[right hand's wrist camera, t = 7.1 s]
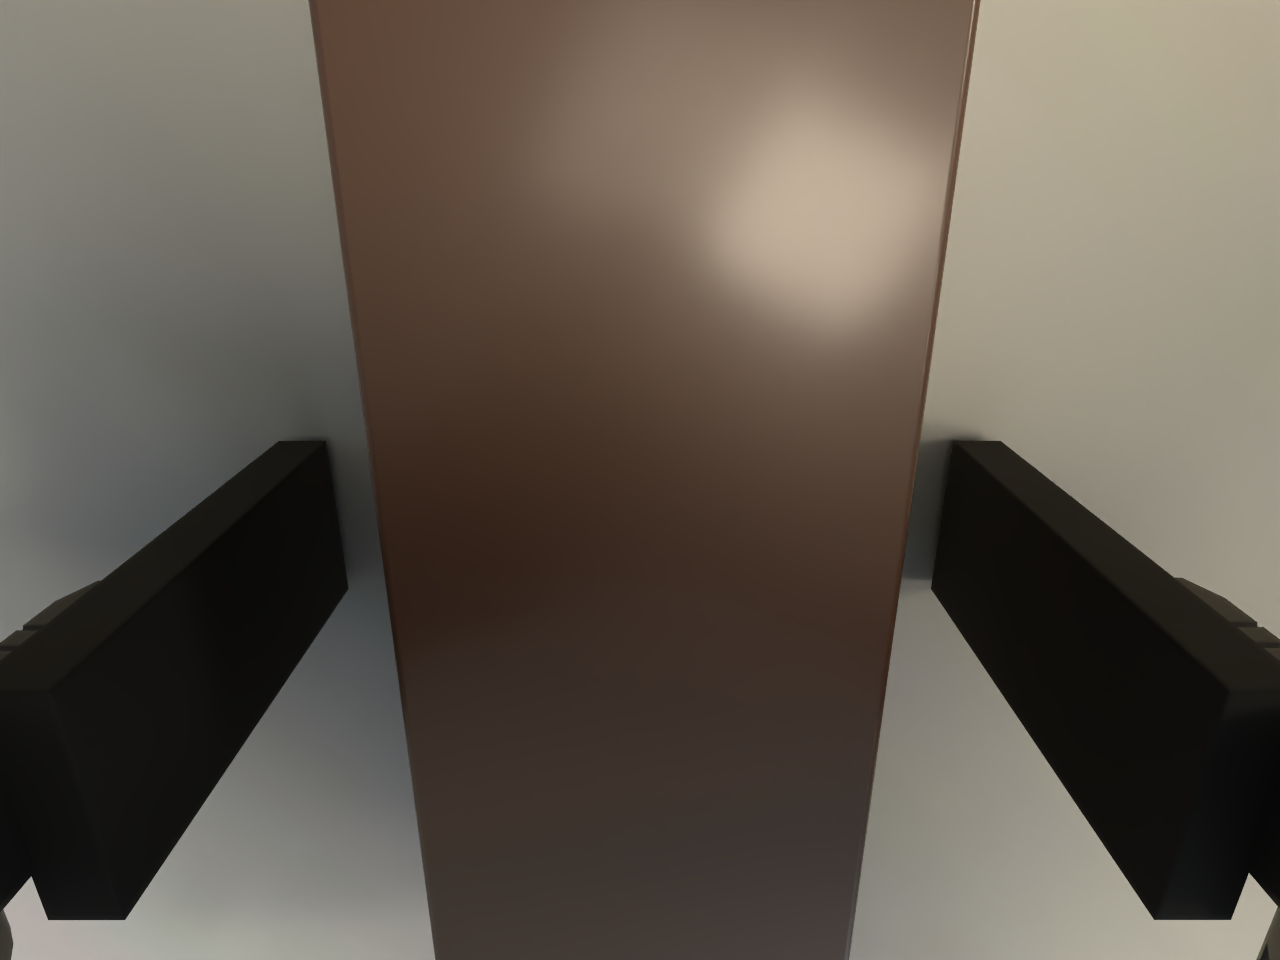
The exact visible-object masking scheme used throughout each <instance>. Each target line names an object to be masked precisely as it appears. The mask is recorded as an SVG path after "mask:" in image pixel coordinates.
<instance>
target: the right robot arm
mask: <svg viewBox="0 0 1280 960" xmlns="http://www.w3.org/2000/svg"><path fill="white" fill-rule="evenodd" d="M931 589H932V591H933V592H934V594H935V595H936V597H937V598H938V600H939V601H940V603H941V604H942V606H943V607H944V609H945V610H946V612H947V613H948V615H949V616H950V618H951V619H952V621H953V622H954V623H955V625H956V626H957V628H958V629H959V631H960V632H961V634H962V635H963V637H964V638H965V640H966V641H967V643H968V644H969V646H970V647H971V649H972V650H973V652H974V653H975V655H976V656H977V658H978V659H979V661H980V662H981V664H982V665H983V667H984V668H985V669H986V671H987V672H988V674H989V675H990V677H991V678H992V680H993V681H994V683H995V684H996V686H997V687H998V689H999V690H1000V692H1001V693H1002V695H1003V696H1004V698H1005V699H1006V701H1007V702H1008V704H1009V705H1010V707H1011V708H1012V710H1013V711H1014V712H1015V714H1016V715H1017V717H1018V718H1019V720H1020V721H1021V723H1022V724H1023V726H1024V727H1025V729H1026V730H1027V732H1028V733H1029V735H1030V736H1031V738H1032V739H1033V741H1034V742H1035V744H1036V745H1037V747H1038V748H1039V750H1040V751H1041V753H1042V754H1043V755H1044V757H1045V758H1046V760H1047V761H1048V763H1049V764H1050V766H1051V767H1052V769H1053V770H1054V772H1055V773H1056V775H1057V776H1058V778H1059V779H1060V781H1061V782H1062V784H1063V785H1064V787H1065V788H1066V790H1067V791H1068V793H1069V794H1070V796H1071V797H1072V798H1073V800H1074V801H1075V803H1076V804H1077V806H1078V807H1079V809H1080V810H1081V812H1082V813H1083V815H1084V816H1085V818H1086V819H1087V821H1088V822H1089V824H1090V825H1091V827H1092V828H1093V830H1094V831H1095V833H1096V834H1097V836H1098V837H1099V839H1100V840H1101V841H1102V843H1103V844H1104V846H1105V847H1106V849H1107V850H1108V852H1109V853H1110V855H1111V856H1112V858H1113V859H1114V861H1115V862H1116V864H1117V865H1118V867H1119V868H1120V870H1121V871H1122V873H1123V874H1124V876H1125V877H1126V879H1127V880H1128V882H1129V883H1130V884H1131V886H1132V887H1133V889H1134V890H1135V892H1136V893H1137V895H1138V896H1139V898H1140V899H1141V901H1142V902H1143V904H1144V905H1145V907H1146V908H1147V910H1148V911H1149V913H1150V914H1151V916H1152V917H1153V919H1154V920H1231V918H1232V916H1233V913H1234V910H1235V908H1236V905H1237V902H1238V900H1239V897H1240V895H1241V892H1242V889H1243V887H1244V884H1245V881H1246V879H1247V876H1248V873H1250V874H1251V875H1252V876H1253V878H1254V879H1255V880H1256V881H1257V882H1258V884H1259V885H1260V886H1261V887H1262V888H1263V889H1264V891H1265V892H1266V893H1267V894H1268V895H1269V896H1270V898H1271V899H1272V900H1273V901H1274V902H1275V903H1276V905H1277V906H1278V908H1277V910H1276V913H1275V915H1274V918H1273V920H1272V923H1271V925H1270V928H1269V930H1268V933H1267V935H1266V937H1265V940H1264V942H1263V945H1262V947H1261V950H1260V952H1259V955H1258V957H1257V960H1280V639H1278V638H1277V637H1276V636H1274V635H1273V634H1272V633H1270V632H1269V631H1268V630H1266V629H1265V628H1264V627H1258V626H1257V622H1256V621H1255V620H1253V619H1252V618H1251V617H1249V616H1248V615H1247V614H1245V613H1244V612H1243V611H1241V610H1240V609H1239V608H1237V607H1236V606H1235V605H1233V604H1232V603H1231V602H1229V601H1228V600H1227V599H1225V598H1223V597H1221V596H1219V595H1217V594H1215V593H1213V592H1211V591H1209V590H1206V589H1204V588H1202V587H1200V586H1198V585H1196V584H1194V583H1192V582H1190V581H1187V580H1185V579H1183V578H1174V577H1173V576H1171V575H1170V574H1169V573H1167V572H1166V571H1165V570H1164V569H1162V568H1161V567H1160V566H1159V565H1157V564H1156V563H1155V562H1154V561H1152V560H1151V559H1150V558H1148V557H1147V556H1146V555H1145V554H1143V553H1142V552H1141V551H1140V550H1138V549H1137V548H1136V547H1134V546H1133V545H1132V544H1131V543H1129V542H1128V541H1127V540H1126V539H1124V538H1123V537H1122V536H1120V535H1119V534H1118V533H1117V532H1115V531H1114V530H1113V529H1112V528H1110V527H1109V526H1108V525H1106V524H1105V523H1104V522H1103V521H1101V520H1100V519H1099V518H1098V517H1096V516H1095V515H1094V514H1093V513H1091V512H1090V511H1089V510H1087V509H1086V508H1085V507H1084V506H1082V505H1081V504H1080V503H1079V502H1077V501H1076V500H1075V499H1073V498H1072V497H1071V496H1070V495H1068V494H1067V493H1066V492H1065V491H1063V490H1062V489H1061V488H1059V487H1058V486H1057V485H1056V484H1054V483H1053V482H1052V481H1051V480H1049V479H1048V478H1047V477H1045V476H1044V475H1043V474H1042V473H1040V472H1039V471H1038V470H1037V469H1035V468H1034V467H1033V466H1032V465H1030V464H1029V463H1028V462H1026V461H1025V460H1024V459H1023V458H1021V457H1020V456H1019V455H1018V454H1016V453H1015V452H1014V451H1012V450H1011V449H1010V448H1009V447H1007V446H1006V445H1005V444H1004V443H1002V442H1001V441H954V443H953V449H952V456H951V462H950V469H949V475H948V482H947V488H946V494H945V501H944V507H943V514H942V520H941V527H940V533H939V540H938V546H937V553H936V559H935V566H934V572H933V579H932V585H931ZM347 590H348V582H347V576H346V570H345V563H344V557H343V550H342V544H341V537H340V531H339V524H338V518H337V511H336V505H335V498H334V492H333V485H332V479H331V472H330V466H329V460H328V453H327V447H326V441H278V442H277V443H276V444H275V445H273V446H272V447H271V448H270V449H268V450H267V451H266V452H264V453H263V454H262V455H261V456H259V457H258V458H257V459H256V460H254V461H253V462H252V463H250V464H249V465H248V466H247V467H245V468H244V469H243V470H242V471H240V472H239V473H238V474H236V475H235V476H234V477H233V478H231V479H230V480H229V481H228V482H226V483H225V484H224V485H222V486H221V487H220V488H219V489H217V490H216V491H215V492H214V493H212V494H211V495H210V496H208V497H207V498H206V499H205V500H203V501H202V502H201V503H200V504H198V505H197V506H196V507H194V508H193V509H192V510H191V511H189V512H188V513H187V514H186V515H184V516H183V517H182V518H181V519H179V520H178V521H177V522H175V523H174V524H173V525H172V526H170V527H169V528H168V529H167V530H165V531H164V532H163V533H161V534H160V535H159V536H158V537H156V538H155V539H154V540H153V541H151V542H150V543H149V544H147V545H146V546H145V547H144V548H142V549H141V550H140V551H139V552H137V553H136V554H135V555H133V556H132V557H131V558H130V559H128V560H127V561H126V562H125V563H123V564H122V565H121V566H119V567H118V568H117V569H116V570H114V571H113V572H112V573H111V574H109V575H108V576H107V577H105V578H104V579H103V580H102V581H97V582H95V583H93V584H90V585H88V586H86V587H84V588H82V589H80V590H78V591H76V592H74V593H72V594H70V595H67V596H65V597H63V598H61V599H59V600H57V601H55V602H54V603H52V604H51V605H50V606H48V607H47V608H46V609H44V610H43V611H42V612H40V613H39V614H38V615H36V616H35V617H34V618H33V619H31V620H30V621H29V622H27V623H26V624H25V625H23V630H22V631H15V632H14V633H13V634H11V635H10V636H9V637H7V638H6V639H5V640H4V641H2V642H1V643H0V960H11V956H12V949H13V939H12V934H11V928H10V925H9V923H8V920H7V918H6V915H5V913H4V910H3V909H4V907H5V906H6V905H7V904H8V903H9V902H10V900H11V899H12V898H13V897H14V896H15V894H16V893H17V892H18V891H19V890H20V889H21V887H22V886H23V885H24V884H25V883H26V881H27V880H28V879H29V878H30V877H31V876H32V878H33V881H34V884H35V886H36V889H37V892H38V894H39V897H40V899H41V902H42V905H43V907H44V910H45V913H46V915H47V918H48V920H125V919H126V918H127V916H128V915H129V913H130V912H131V910H132V909H133V907H134V906H135V904H136V903H137V901H138V900H139V898H140V897H141V895H142V894H143V892H144V891H145V890H146V888H147V887H148V885H149V884H150V882H151V881H152V879H153V878H154V876H155V875H156V873H157V872H158V870H159V869H160V867H161V866H162V864H163V863H164V861H165V860H166V858H167V857H168V855H169V854H170V852H171V851H172V849H173V848H174V847H175V845H176V844H177V842H178V841H179V839H180V838H181V836H182V835H183V833H184V832H185V830H186V829H187V827H188V826H189V824H190V823H191V821H192V820H193V818H194V817H195V815H196V814H197V812H198V811H199V809H200V808H201V807H202V805H203V804H204V802H205V801H206V799H207V798H208V796H209V795H210V793H211V792H212V790H213V789H214V787H215V786H216V784H217V783H218V781H219V780H220V778H221V777H222V775H223V774H224V772H225V771H226V769H227V768H228V766H229V765H230V764H231V762H232V761H233V759H234V758H235V756H236V755H237V753H238V752H239V750H240V749H241V747H242V746H243V744H244V743H245V741H246V740H247V738H248V737H249V735H250V734H251V732H252V731H253V729H254V728H255V726H256V725H257V723H258V722H259V721H260V719H261V718H262V716H263V715H264V713H265V712H266V710H267V709H268V707H269V706H270V704H271V703H272V701H273V700H274V698H275V697H276V695H277V694H278V692H279V691H280V689H281V688H282V686H283V685H284V683H285V682H286V681H287V679H288V678H289V676H290V675H291V673H292V672H293V670H294V669H295V667H296V666H297V664H298V663H299V661H300V660H301V658H302V657H303V655H304V654H305V652H306V651H307V649H308V648H309V646H310V645H311V643H312V642H313V640H314V639H315V638H316V636H317V635H318V633H319V632H320V630H321V629H322V627H323V626H324V624H325V623H326V621H327V620H328V618H329V617H330V615H331V614H332V612H333V611H334V609H335V608H336V606H337V605H338V603H339V602H340V600H341V599H342V598H343V596H344V595H345V593H346V592H347Z"/></svg>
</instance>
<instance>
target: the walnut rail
mask: <svg viewBox="0 0 1280 960" xmlns="http://www.w3.org/2000/svg"><path fill="white" fill-rule="evenodd" d="M309 7H310V15H311V22H312V30H313V37H314V45H315V52H316V60H317V67H318V75H319V83H320V90H321V98H322V105H323V113H324V120H325V128H326V136H327V143H328V151H329V158H330V166H331V173H332V181H333V189H334V196H335V204H336V211H337V219H338V226H339V234H340V241H341V249H342V257H343V264H344V272H345V279H346V287H347V294H348V302H349V310H350V317H351V325H352V332H353V340H354V347H355V355H356V363H357V370H358V378H359V385H360V393H361V400H362V408H363V415H364V423H365V431H366V438H367V446H368V453H369V461H370V468H371V476H372V484H373V491H374V499H375V506H376V514H377V521H378V529H379V537H380V544H381V552H382V559H383V567H384V574H385V582H386V589H387V597H388V605H389V612H390V620H391V627H392V635H393V642H394V650H395V658H396V665H397V673H398V680H399V688H400V695H401V703H402V711H403V718H404V726H405V733H406V741H407V748H408V756H409V763H410V771H411V779H412V786H413V794H414V801H415V809H416V816H417V824H418V832H419V839H420V847H421V854H422V862H423V869H424V877H425V885H426V892H427V900H428V907H429V915H430V922H431V930H432V937H433V945H434V953H435V960H849V955H850V948H851V941H852V933H853V926H854V919H855V912H856V904H857V897H858V890H859V882H860V875H861V868H862V860H863V853H864V846H865V839H866V831H867V824H868V817H869V809H870V802H871V795H872V788H873V780H874V773H875V766H876V758H877V751H878V744H879V736H880V729H881V722H882V715H883V707H884V700H885V693H886V685H887V678H888V671H889V664H890V656H891V649H892V642H893V634H894V627H895V620H896V613H897V605H898V598H899V591H900V583H901V576H902V569H903V561H904V554H905V547H906V540H907V532H908V525H909V518H910V510H911V503H912V496H913V489H914V481H915V474H916V467H917V459H918V452H919V445H920V437H921V430H922V423H923V416H924V408H925V401H926V394H927V386H928V379H929V372H930V365H931V357H932V350H933V343H934V335H935V328H936V321H937V313H938V306H939V299H940V292H941V284H942V277H943V270H944V262H945V255H946V248H947V241H948V233H949V226H950V219H951V211H952V204H953V197H954V190H955V182H956V175H957V168H958V160H959V153H960V146H961V138H962V131H963V124H964V117H965V109H966V102H967V95H968V87H969V80H970V73H971V66H972V58H973V51H974V44H975V36H976V29H977V22H978V14H979V7H980V0H309Z"/></svg>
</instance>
